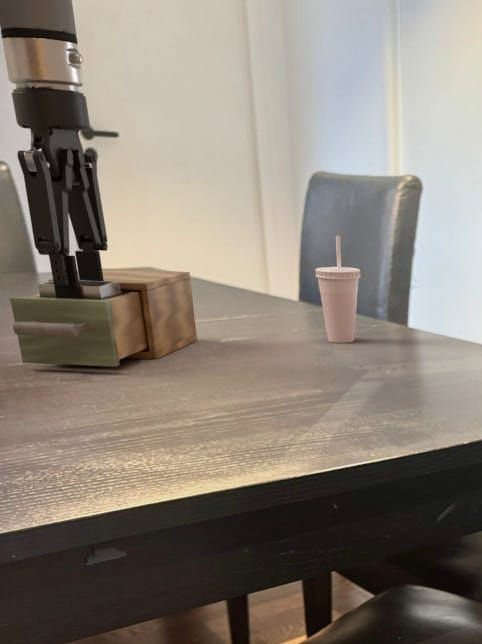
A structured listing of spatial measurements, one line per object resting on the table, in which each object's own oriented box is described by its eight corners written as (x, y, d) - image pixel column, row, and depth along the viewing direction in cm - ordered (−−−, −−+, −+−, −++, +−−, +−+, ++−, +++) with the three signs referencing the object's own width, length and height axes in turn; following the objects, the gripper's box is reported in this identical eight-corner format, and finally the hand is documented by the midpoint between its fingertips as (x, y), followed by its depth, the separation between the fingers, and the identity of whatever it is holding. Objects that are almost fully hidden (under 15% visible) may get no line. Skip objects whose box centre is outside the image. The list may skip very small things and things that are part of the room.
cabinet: (156, 359, 117) (146, 283, 112) (61, 354, 117) (47, 279, 113) (197, 340, 130) (189, 271, 125) (111, 336, 130) (101, 268, 126)
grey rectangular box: (43, 315, 108) (37, 283, 107) (65, 309, 113) (60, 279, 112) (104, 317, 108) (99, 286, 106) (124, 311, 113) (119, 281, 111)
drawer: (99, 374, 103) (87, 306, 100) (2, 369, 104) (-12, 302, 101) (161, 347, 119) (153, 288, 116) (76, 343, 120) (66, 284, 117)
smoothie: (328, 345, 129) (322, 237, 122) (312, 338, 133) (306, 234, 127) (370, 342, 131) (366, 237, 125) (353, 335, 136) (349, 233, 130)
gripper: (37, 82, 91) (77, 323, 102) (118, 96, 108) (145, 303, 118) (-35, 80, 92) (13, 320, 102) (57, 94, 108) (89, 300, 119)
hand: (84, 310), depth 110 cm, fingers closed on grey rectangular box, 5 cm apart
